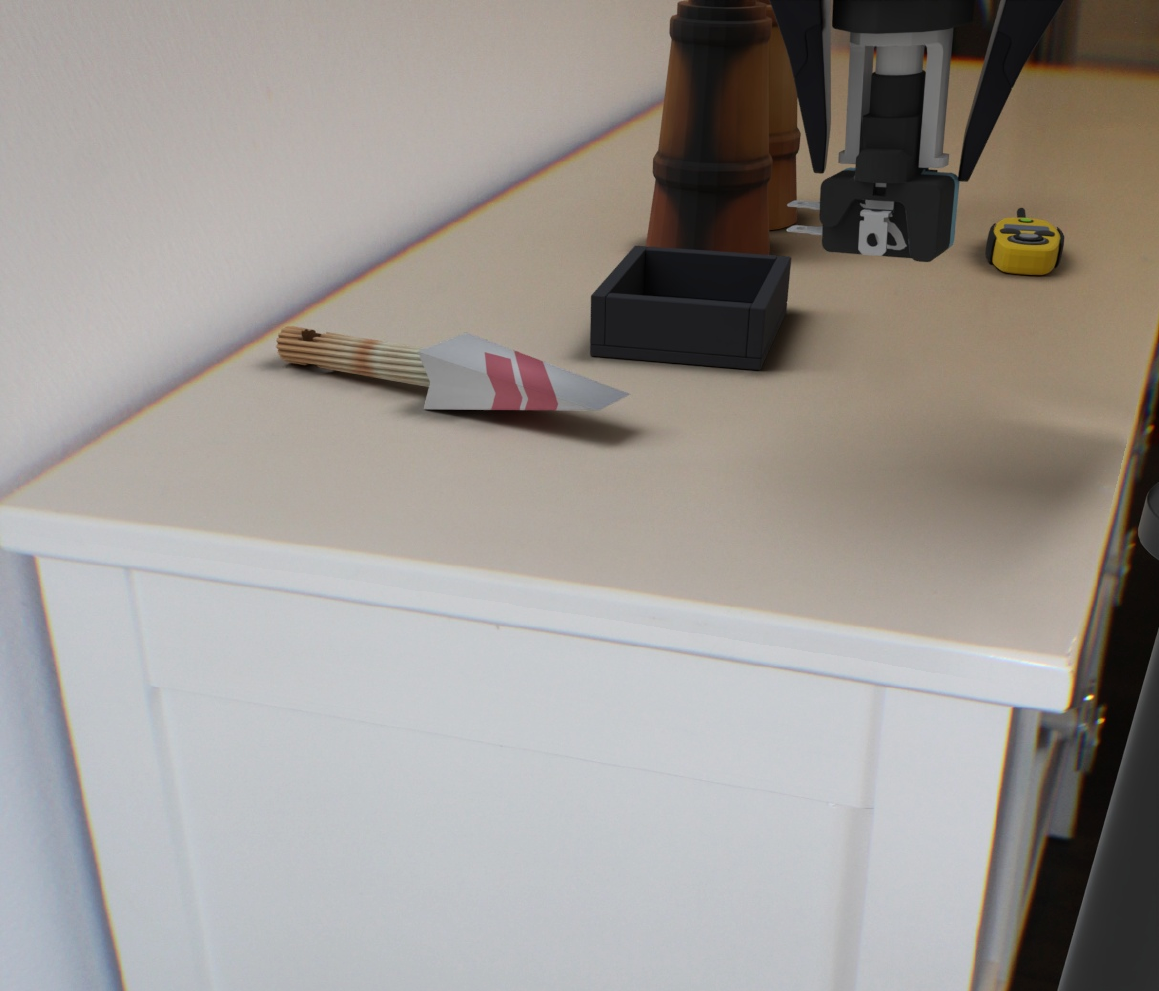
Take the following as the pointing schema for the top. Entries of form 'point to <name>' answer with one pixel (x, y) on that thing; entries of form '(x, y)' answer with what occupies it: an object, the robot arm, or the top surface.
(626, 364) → the top surface
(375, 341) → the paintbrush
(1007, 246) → the yellow walkie talkie
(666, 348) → the black hollow square tray
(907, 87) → the push button
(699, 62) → the binoculars
